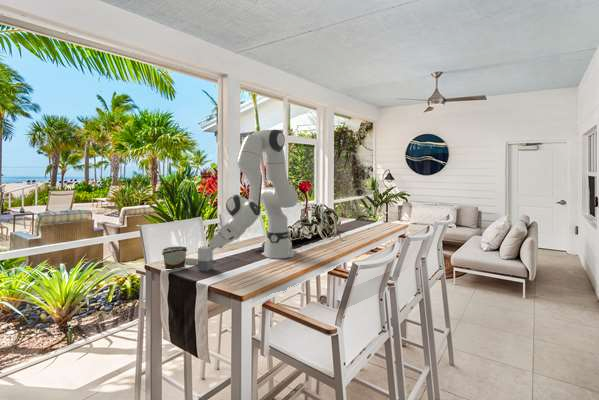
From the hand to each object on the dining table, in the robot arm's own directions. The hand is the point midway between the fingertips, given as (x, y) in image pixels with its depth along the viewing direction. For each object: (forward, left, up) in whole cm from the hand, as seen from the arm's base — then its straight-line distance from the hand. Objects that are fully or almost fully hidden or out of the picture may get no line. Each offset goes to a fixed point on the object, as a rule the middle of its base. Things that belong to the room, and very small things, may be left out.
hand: (214, 249), depth 167 cm
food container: (+2, -22, -11) cm, 25 cm away
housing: (0, -5, -11) cm, 12 cm away
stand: (-12, -17, -11) cm, 24 cm away
